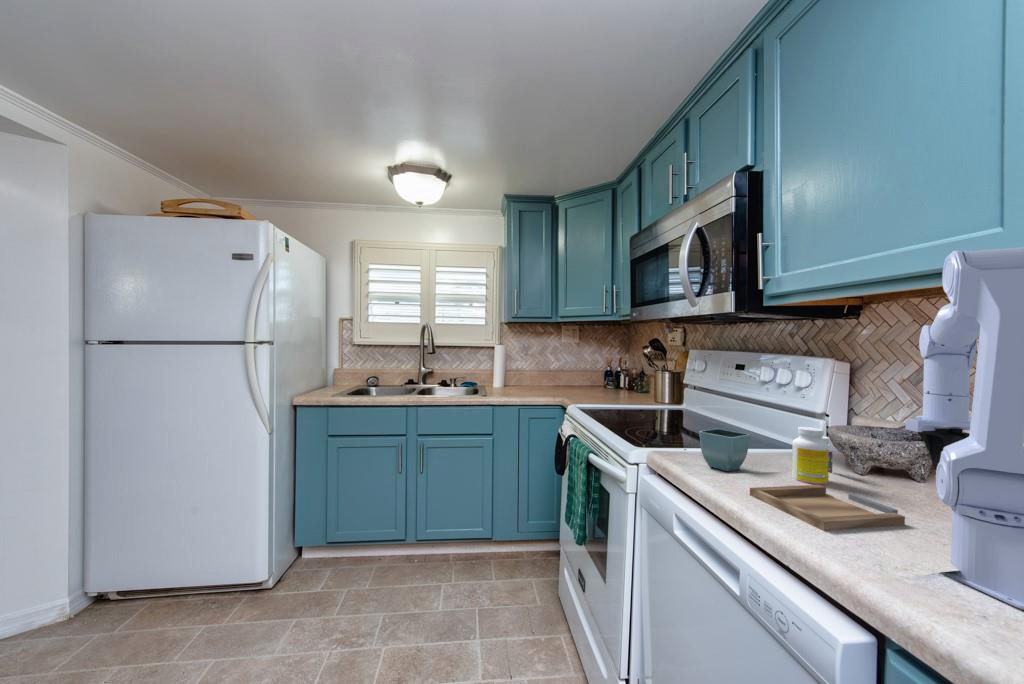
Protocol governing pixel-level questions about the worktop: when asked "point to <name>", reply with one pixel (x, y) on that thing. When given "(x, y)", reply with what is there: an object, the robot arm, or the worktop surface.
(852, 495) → the cover plate
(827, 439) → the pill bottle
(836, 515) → the wooden box
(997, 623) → the worktop surface
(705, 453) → the flower pot
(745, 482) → the worktop surface
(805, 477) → the supplement bottle
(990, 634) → the worktop surface
